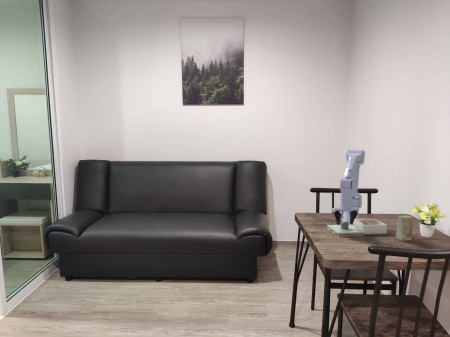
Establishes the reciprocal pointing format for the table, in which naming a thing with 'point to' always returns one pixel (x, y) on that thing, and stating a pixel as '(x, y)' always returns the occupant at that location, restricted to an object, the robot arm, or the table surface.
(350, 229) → the lid
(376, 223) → the storage box
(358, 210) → the robot arm
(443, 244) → the table surface
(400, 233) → the skincare box
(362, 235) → the birch board
